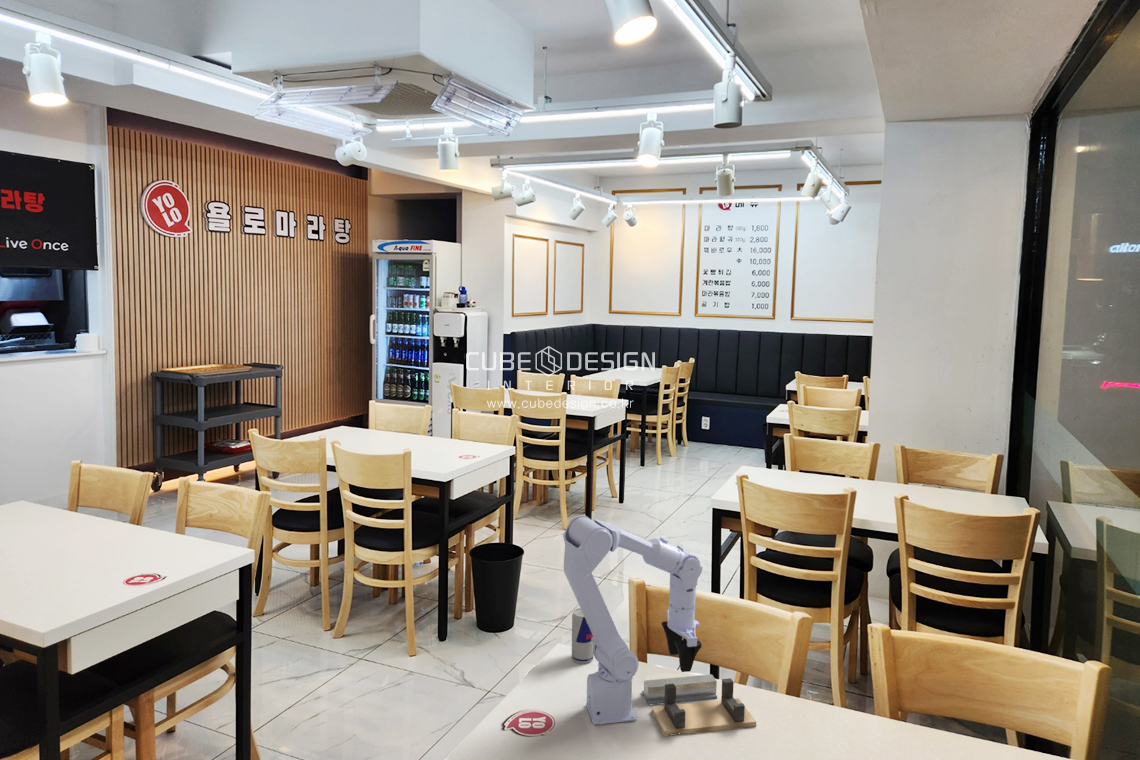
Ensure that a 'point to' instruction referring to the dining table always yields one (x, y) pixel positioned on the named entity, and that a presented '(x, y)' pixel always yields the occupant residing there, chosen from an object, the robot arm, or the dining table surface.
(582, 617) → the energy drink
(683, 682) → the rail
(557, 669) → the dining table surface
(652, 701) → the mat
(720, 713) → the rack
